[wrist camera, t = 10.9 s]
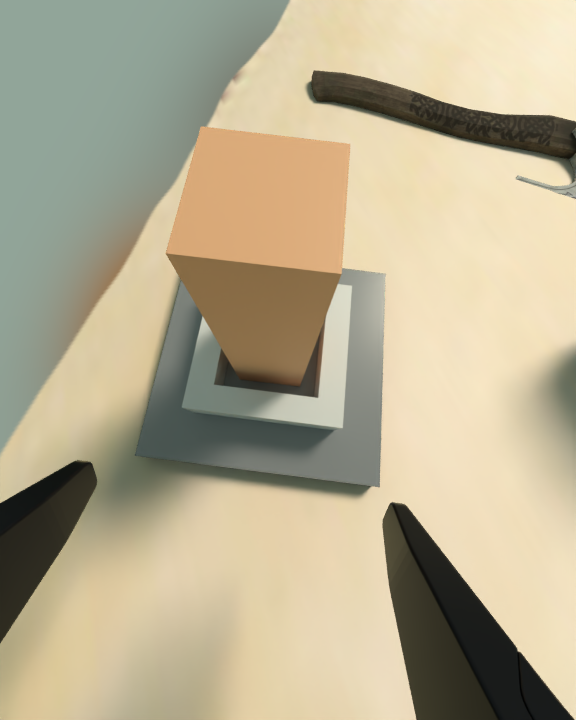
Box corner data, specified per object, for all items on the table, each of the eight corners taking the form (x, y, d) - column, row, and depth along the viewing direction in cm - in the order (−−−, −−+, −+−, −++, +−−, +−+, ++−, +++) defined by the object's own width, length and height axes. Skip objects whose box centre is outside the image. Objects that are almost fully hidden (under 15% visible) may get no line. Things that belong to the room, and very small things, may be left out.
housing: (373, 484, 18) (395, 493, 15) (143, 454, 18) (111, 457, 15) (380, 282, 23) (398, 252, 19) (193, 258, 23) (178, 224, 19)
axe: (325, 33, 28) (637, 116, 26) (323, 63, 31) (607, 142, 28) (285, 127, 27) (614, 224, 24) (286, 151, 29) (584, 241, 27)
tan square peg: (299, 386, 19) (341, 274, 6) (239, 379, 19) (165, 253, 6) (305, 331, 20) (350, 144, 8) (248, 324, 20) (200, 126, 8)
